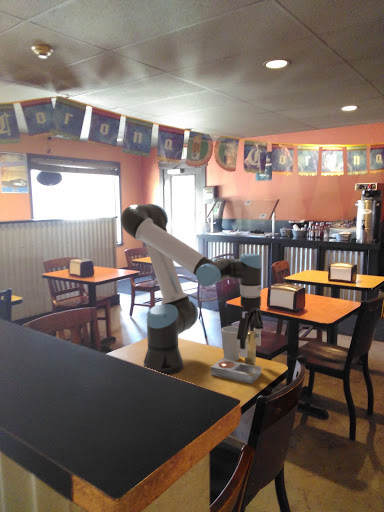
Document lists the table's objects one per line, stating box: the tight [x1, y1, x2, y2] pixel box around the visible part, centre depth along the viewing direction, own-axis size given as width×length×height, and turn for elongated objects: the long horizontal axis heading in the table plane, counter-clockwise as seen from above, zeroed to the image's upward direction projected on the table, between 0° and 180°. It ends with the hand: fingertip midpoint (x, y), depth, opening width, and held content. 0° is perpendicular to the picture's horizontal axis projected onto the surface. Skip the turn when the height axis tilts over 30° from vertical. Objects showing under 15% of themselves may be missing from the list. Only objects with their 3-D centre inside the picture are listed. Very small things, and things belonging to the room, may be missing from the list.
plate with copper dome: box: [210, 358, 262, 385], centre depth 144 cm, size 16×9×3 cm, turn 60°
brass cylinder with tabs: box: [244, 330, 259, 365], centre depth 148 cm, size 6×4×14 cm, turn 60°
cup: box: [221, 325, 240, 362], centre depth 159 cm, size 8×8×12 cm
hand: (250, 350), depth 148 cm, fingers open, 13 cm apart
